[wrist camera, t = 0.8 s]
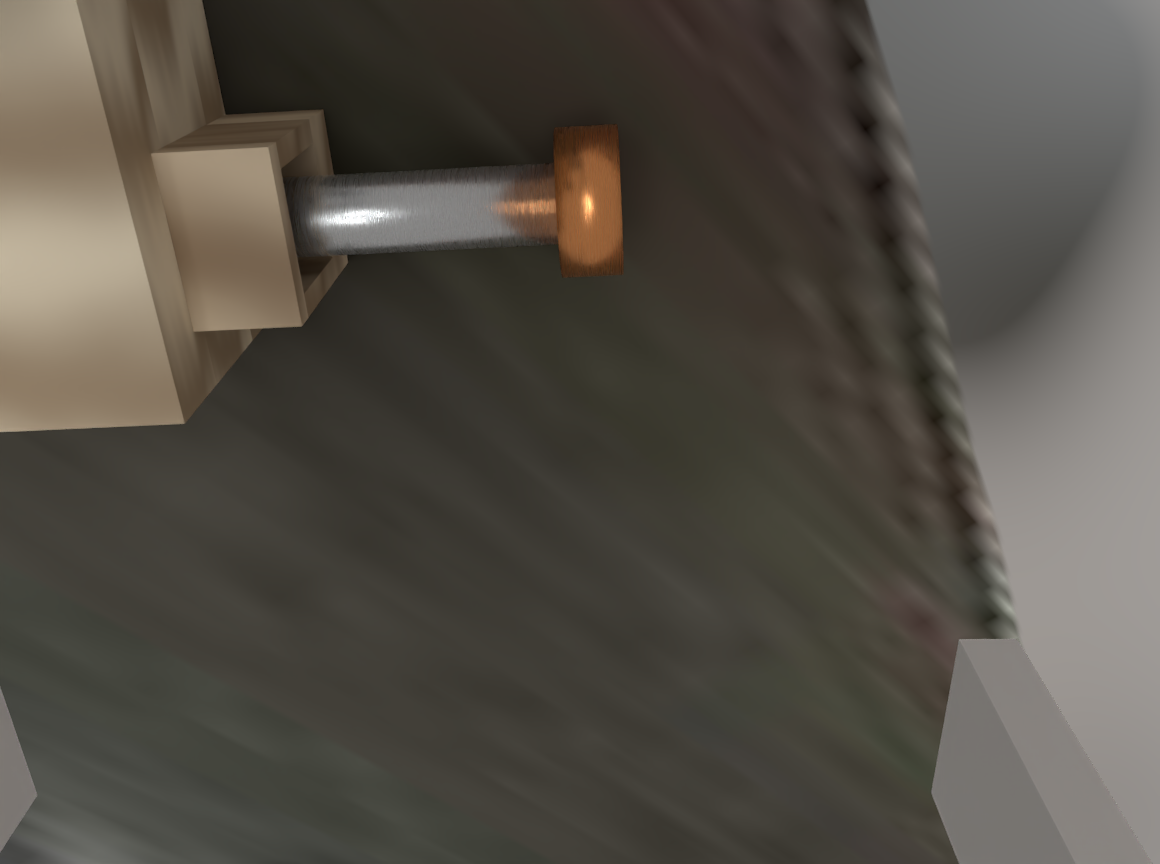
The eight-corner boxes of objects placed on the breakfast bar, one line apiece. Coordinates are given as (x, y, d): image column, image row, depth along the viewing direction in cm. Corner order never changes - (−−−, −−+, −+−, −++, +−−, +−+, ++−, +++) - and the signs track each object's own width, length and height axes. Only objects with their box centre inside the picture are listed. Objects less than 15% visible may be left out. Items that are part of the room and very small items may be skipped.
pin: (126, 139, 35) (60, 169, 30) (615, 112, 34) (619, 139, 30) (160, 274, 37) (103, 319, 32) (620, 250, 36) (624, 294, 32)
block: (-159, -205, 32) (-490, -262, 22) (267, -234, 31) (121, -305, 21) (16, 334, 40) (-169, 465, 30) (357, 317, 39) (280, 445, 30)
